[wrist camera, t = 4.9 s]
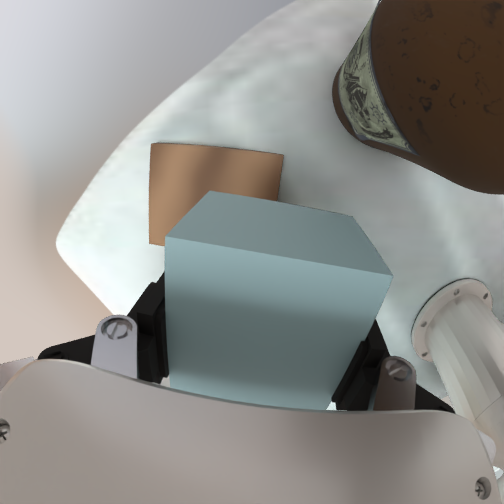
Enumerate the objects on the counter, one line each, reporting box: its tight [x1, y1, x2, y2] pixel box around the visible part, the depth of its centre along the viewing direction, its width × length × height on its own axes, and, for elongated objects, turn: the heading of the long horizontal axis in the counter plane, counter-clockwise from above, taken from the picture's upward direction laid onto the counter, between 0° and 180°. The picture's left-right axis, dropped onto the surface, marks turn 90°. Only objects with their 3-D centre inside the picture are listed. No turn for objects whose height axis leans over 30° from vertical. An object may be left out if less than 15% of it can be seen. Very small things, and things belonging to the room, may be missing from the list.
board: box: [149, 143, 284, 246], centre depth 26 cm, size 12×10×2 cm
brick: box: [165, 191, 393, 410], centre depth 11 cm, size 6×8×5 cm
